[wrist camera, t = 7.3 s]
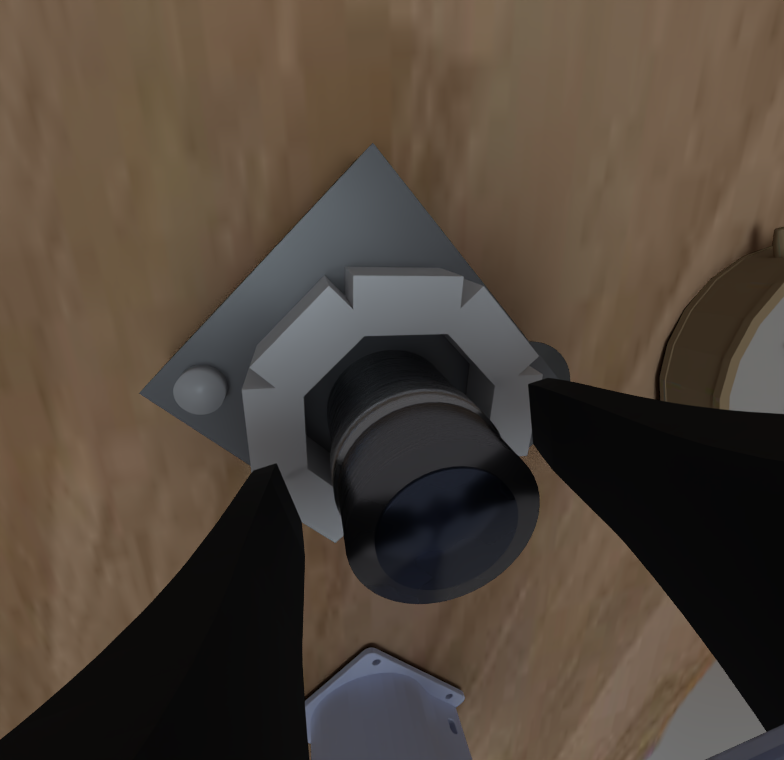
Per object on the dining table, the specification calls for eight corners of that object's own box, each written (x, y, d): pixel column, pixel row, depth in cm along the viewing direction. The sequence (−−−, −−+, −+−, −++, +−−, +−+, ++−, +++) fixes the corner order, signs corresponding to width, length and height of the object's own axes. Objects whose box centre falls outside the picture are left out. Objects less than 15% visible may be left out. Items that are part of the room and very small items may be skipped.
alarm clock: (963, 260, 18) (848, 556, 20) (823, 268, 22) (744, 508, 25) (792, 208, 15) (684, 563, 17) (672, 229, 19) (601, 506, 22)
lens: (438, 330, 13) (539, 409, 8) (459, 441, 15) (553, 570, 10) (305, 369, 13) (310, 485, 7) (345, 480, 15) (372, 639, 9)
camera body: (537, 376, 18) (614, 428, 14) (385, 514, 20) (410, 603, 15) (358, 157, 13) (388, 127, 9) (169, 360, 15) (110, 424, 10)
